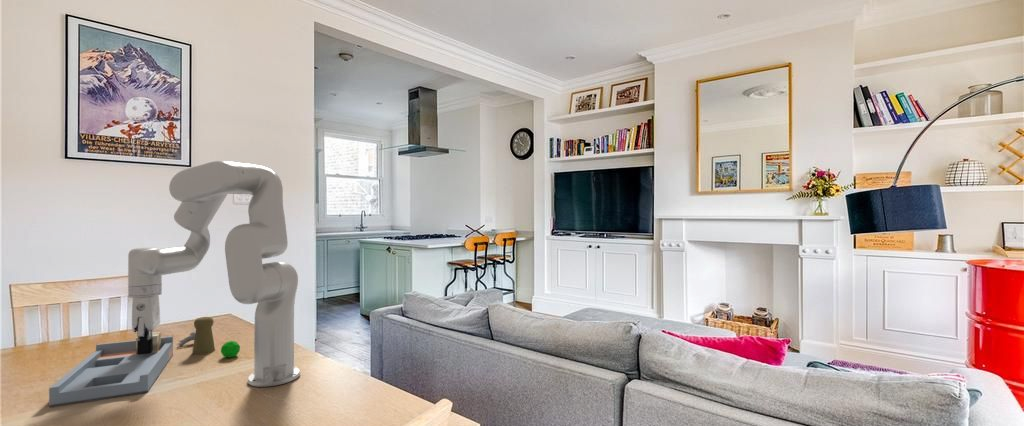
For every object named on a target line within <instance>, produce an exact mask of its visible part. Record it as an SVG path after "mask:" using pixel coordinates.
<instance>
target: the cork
mask: <svg viewBox="0 0 1024 426" xmlns="http://www.w3.org/2000/svg"><path fill="white" fill-rule="evenodd" d="M193 325H194V326H193V327H194V328H196V329H195V331H196V333H195V339H194V340H193V347H192V355H207V354H211V353H213V352H215V351H216V348H215V347H216V346H215V342H214V335H213V328H212V327H213V325H214V319H213V317H211V316H202V317H201V316H200V317H199V318H196V319H195V320H194V322H193Z"/></svg>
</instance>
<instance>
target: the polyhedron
mask: <svg viewBox="0 0 1024 426" xmlns="http://www.w3.org/2000/svg"><path fill="white" fill-rule="evenodd" d="M240 350H241V346H240V345H239V343H238V342H237V341H234V340H230V341H226V342H224V343H223V345H222V346H221V348H220V353H221V355H222V356H223V357H225V358H226V359H227V358H228V359H231V358H234V357H236V356H237V355H238V354H239V353H240Z"/></svg>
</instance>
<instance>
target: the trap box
mask: <svg viewBox="0 0 1024 426" xmlns="http://www.w3.org/2000/svg"><path fill="white" fill-rule="evenodd" d="M172 357H174V336H173V335H172V336H161V349H160V350H159V351H158V352H157V353H150V354H141V355H136V339H135V340H134V339H133V340H124V341H116V342H115V341H113V342H105V343H97V344H96V345H95V350H94V351H93V352H92V353H91V354H89V355H88V356H87V357H85V358H84V359H83V360H82V361H81V362H79V363H78V364H77V365H76V366H75V367H73V368H72V369H71V370H69V372H67V373H66V374H65V375H63V376H62V377H61V378H60V379H58V380H57V381H56V382H55V383H53V385H51V386H50V387H49V390H48V391H49V392H48V393H49V394H48V396H49V398H48V402H49V403H48V404H49V405H48V407H49V408H54V407H61V406H66V405H67V406H68V405H73V404H74V405H75V404H80V403H87V402H94V401H101V400H107V399H113V398H120V397H127V396H133V395H140V394H146V393H149V392H150V391H151V388H152V387H153V385H154V384H155V383H156V381H157V380H158V378H159V377H160V375H161V374H162V372H163V371H164V370H165V368H166V366H167V365H168V364H169V362H170V360H171V359H172Z"/></svg>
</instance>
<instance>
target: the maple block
mask: <svg viewBox="0 0 1024 426" xmlns="http://www.w3.org/2000/svg"><path fill="white" fill-rule="evenodd" d="M161 337H162V331H157V332H153V334H152V338H153V351H152V352H151V353H157V352H158V351H159V350H160V349H161ZM135 340H136V355H138V354H137V341H138V336H136V337H135Z"/></svg>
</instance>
